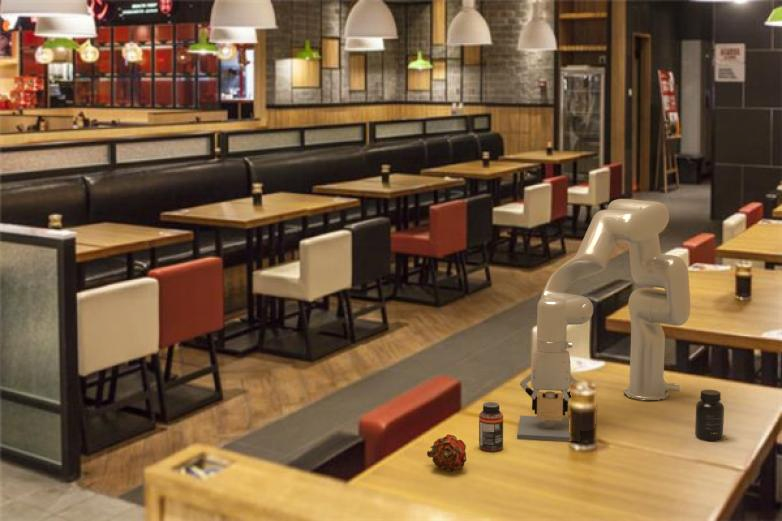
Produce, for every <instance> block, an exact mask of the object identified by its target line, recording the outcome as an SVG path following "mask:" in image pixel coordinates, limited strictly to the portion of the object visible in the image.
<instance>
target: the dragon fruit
mask: <svg viewBox="0 0 782 521" xmlns="http://www.w3.org/2000/svg"><path fill="white" fill-rule="evenodd" d="M466 448H467V447H466V444H465V442H464V441H463V440H462V439H458V438H457V437H456V435H453V434H450V433H449V434H446V435H445V436H444V437H442V438H441V437H440V438H437V439H436V440H435V441H434V442H433V445H431V446H430V449H431V450H427V451H426V455H427V457H428V458H432V462H433V464H434V466H436V467H437V468H439V469H443V470H444V471H447V472H453V471H455V470H458V468H461V467H464V466H465V464H466V463H465V462H467V453H466Z"/></svg>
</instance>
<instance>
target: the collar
mask: <svg viewBox="0 0 782 521" xmlns="http://www.w3.org/2000/svg"><path fill="white" fill-rule="evenodd" d="M546 392H547V391H539V392H538V394H537V414H536V416H537V420H556V421H562V419H563V418H564V416H563V398H564V396H563V394H562V392H555V398H546Z"/></svg>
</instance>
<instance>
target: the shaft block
mask: <svg viewBox="0 0 782 521" xmlns="http://www.w3.org/2000/svg"><path fill="white" fill-rule="evenodd" d="M545 392H546V398H555V393H556V392H555V391H552V390H547V391H545ZM569 418H570V417H563V419H562V421H556V420H537V415H520V416H519V419H518V420H519V421H518V427H517V433H516V434H517V435H516V438H517V440H528V441H531V440H532V441H546V442H547V441H548V442H549V441H550V442H568V443H570V442H569V440H570V432H569Z"/></svg>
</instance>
